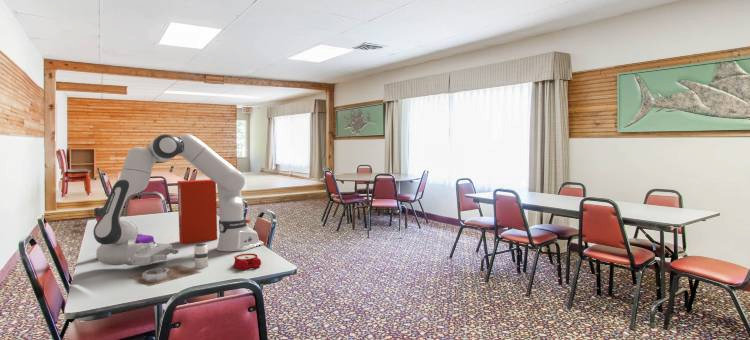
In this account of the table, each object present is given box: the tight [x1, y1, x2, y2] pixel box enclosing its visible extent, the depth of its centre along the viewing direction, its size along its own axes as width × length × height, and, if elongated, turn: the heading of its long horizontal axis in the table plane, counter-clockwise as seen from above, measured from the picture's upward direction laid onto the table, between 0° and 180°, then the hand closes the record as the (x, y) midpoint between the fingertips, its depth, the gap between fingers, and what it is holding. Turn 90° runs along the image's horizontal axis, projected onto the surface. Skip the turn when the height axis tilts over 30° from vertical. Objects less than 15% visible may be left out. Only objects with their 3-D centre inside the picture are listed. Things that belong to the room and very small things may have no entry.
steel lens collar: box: [141, 267, 170, 282], centre depth 157 cm, size 9×9×2 cm
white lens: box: [193, 243, 209, 270], centre depth 171 cm, size 5×5×10 cm
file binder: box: [177, 178, 218, 245], centre depth 222 cm, size 8×17×32 cm, turn 126°
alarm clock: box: [232, 253, 262, 271], centre depth 175 cm, size 10×6×15 cm
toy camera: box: [135, 233, 156, 244], centre depth 190 cm, size 11×14×10 cm
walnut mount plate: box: [127, 264, 202, 287], centre depth 161 cm, size 20×17×1 cm
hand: (171, 254), depth 172 cm, fingers open, 8 cm apart
